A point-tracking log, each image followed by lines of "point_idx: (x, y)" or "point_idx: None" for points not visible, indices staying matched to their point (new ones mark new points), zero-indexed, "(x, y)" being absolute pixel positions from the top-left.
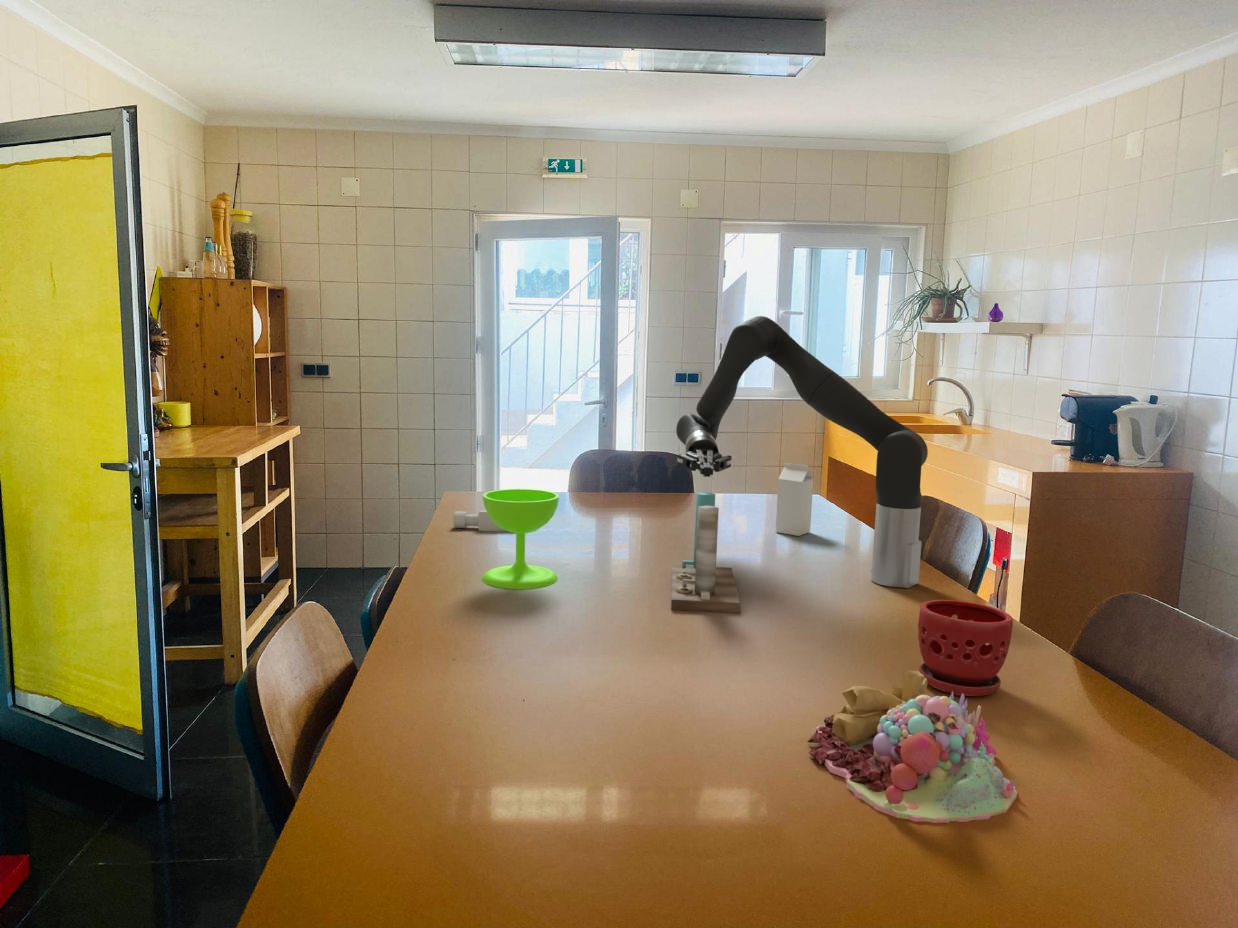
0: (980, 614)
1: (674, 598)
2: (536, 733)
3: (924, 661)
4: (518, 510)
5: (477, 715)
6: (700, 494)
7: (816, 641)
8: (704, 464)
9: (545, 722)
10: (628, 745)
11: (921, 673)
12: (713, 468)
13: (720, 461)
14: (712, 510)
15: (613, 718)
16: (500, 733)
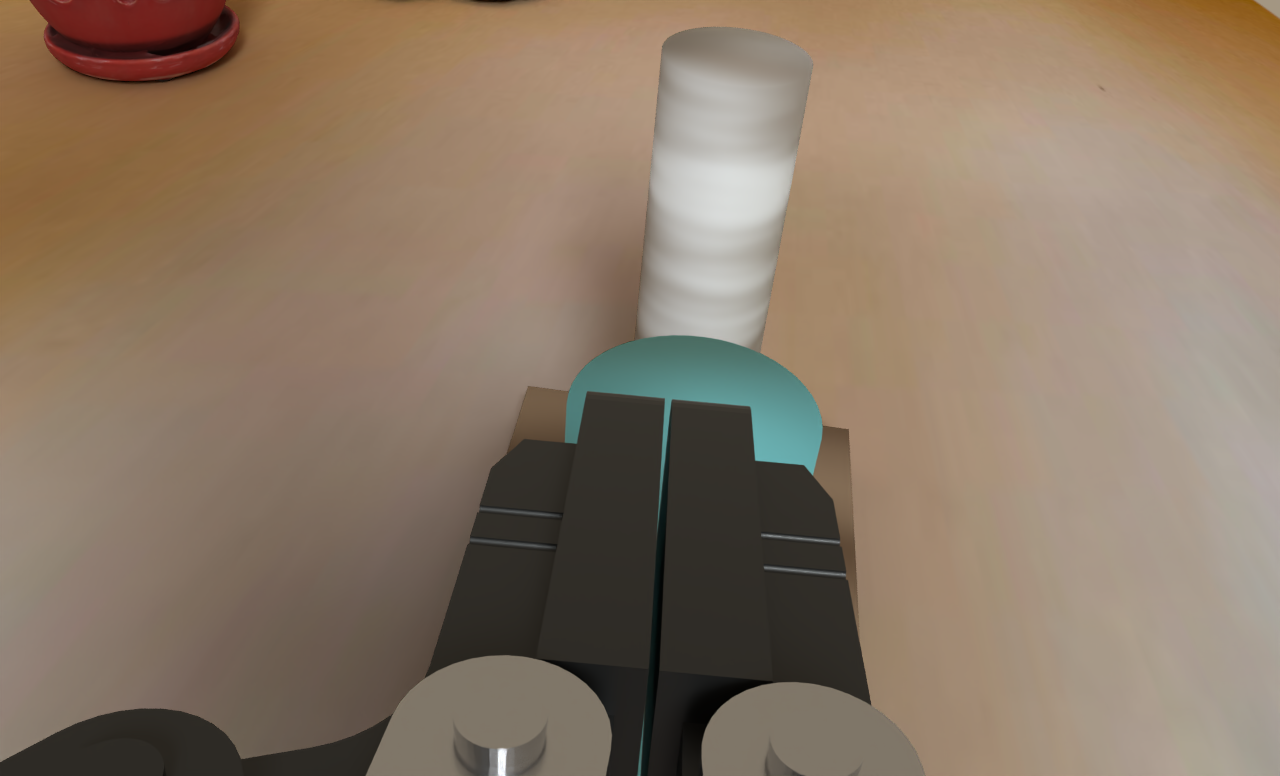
0: None
1: (834, 440)
2: (1031, 32)
3: (219, 10)
4: None
5: (1155, 66)
6: (770, 385)
7: (346, 220)
8: (735, 530)
9: (1030, 47)
10: (879, 7)
11: (234, 35)
12: (495, 470)
13: (5, 773)
14: (712, 33)
15: (917, 45)
16: (1087, 37)
